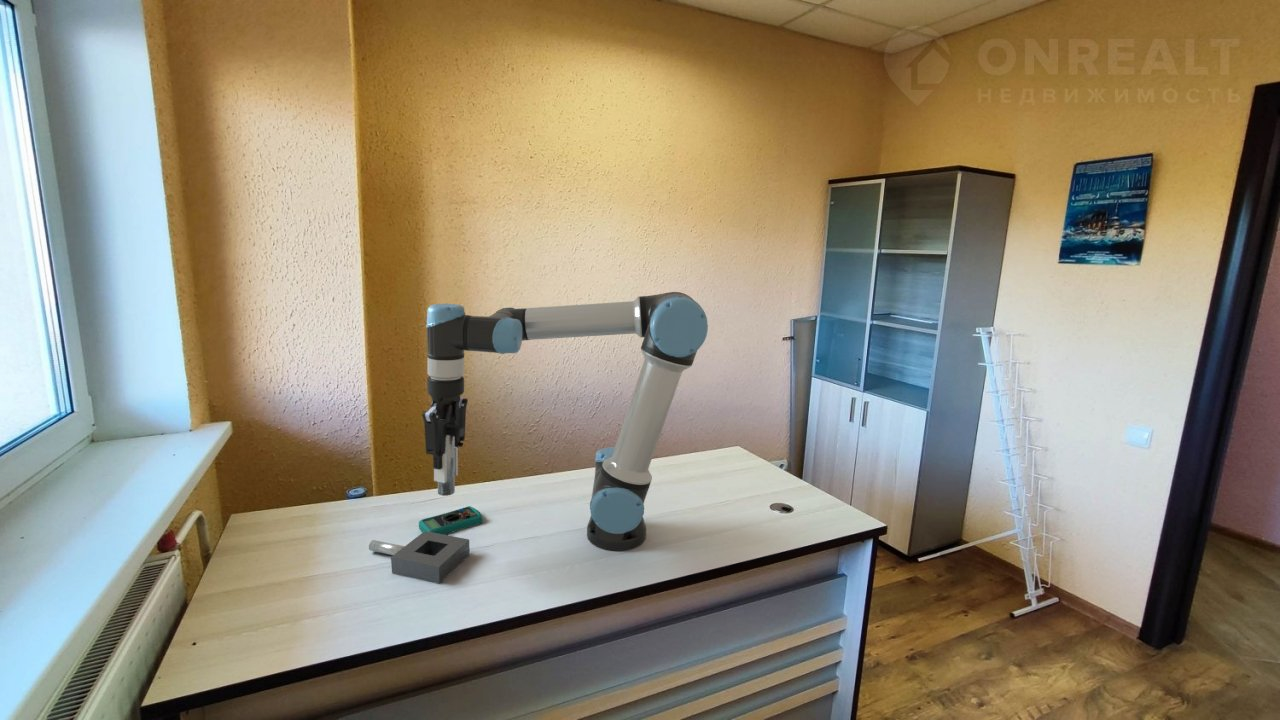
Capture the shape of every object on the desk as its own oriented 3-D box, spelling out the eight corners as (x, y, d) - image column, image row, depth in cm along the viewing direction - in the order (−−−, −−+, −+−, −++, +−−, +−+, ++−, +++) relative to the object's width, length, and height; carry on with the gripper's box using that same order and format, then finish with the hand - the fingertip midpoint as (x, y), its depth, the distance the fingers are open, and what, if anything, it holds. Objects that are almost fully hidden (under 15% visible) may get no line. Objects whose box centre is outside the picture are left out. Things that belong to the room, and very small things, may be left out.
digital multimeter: (484, 524, 150) (484, 513, 149) (428, 541, 140) (428, 530, 140) (472, 513, 155) (472, 503, 155) (417, 529, 146) (417, 519, 145)
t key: (466, 492, 129) (466, 425, 126) (457, 498, 126) (457, 430, 122) (435, 485, 131) (435, 420, 128) (425, 492, 128) (425, 425, 124)
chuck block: (469, 554, 135) (469, 539, 134) (439, 583, 123) (438, 567, 122) (390, 539, 140) (389, 524, 139) (354, 565, 129) (352, 549, 128)
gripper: (453, 366, 132) (453, 461, 136) (405, 382, 116) (407, 489, 121) (482, 370, 130) (481, 467, 135) (437, 387, 114) (438, 495, 119)
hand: (446, 477), depth 128 cm, fingers closed on t key, 4 cm apart
